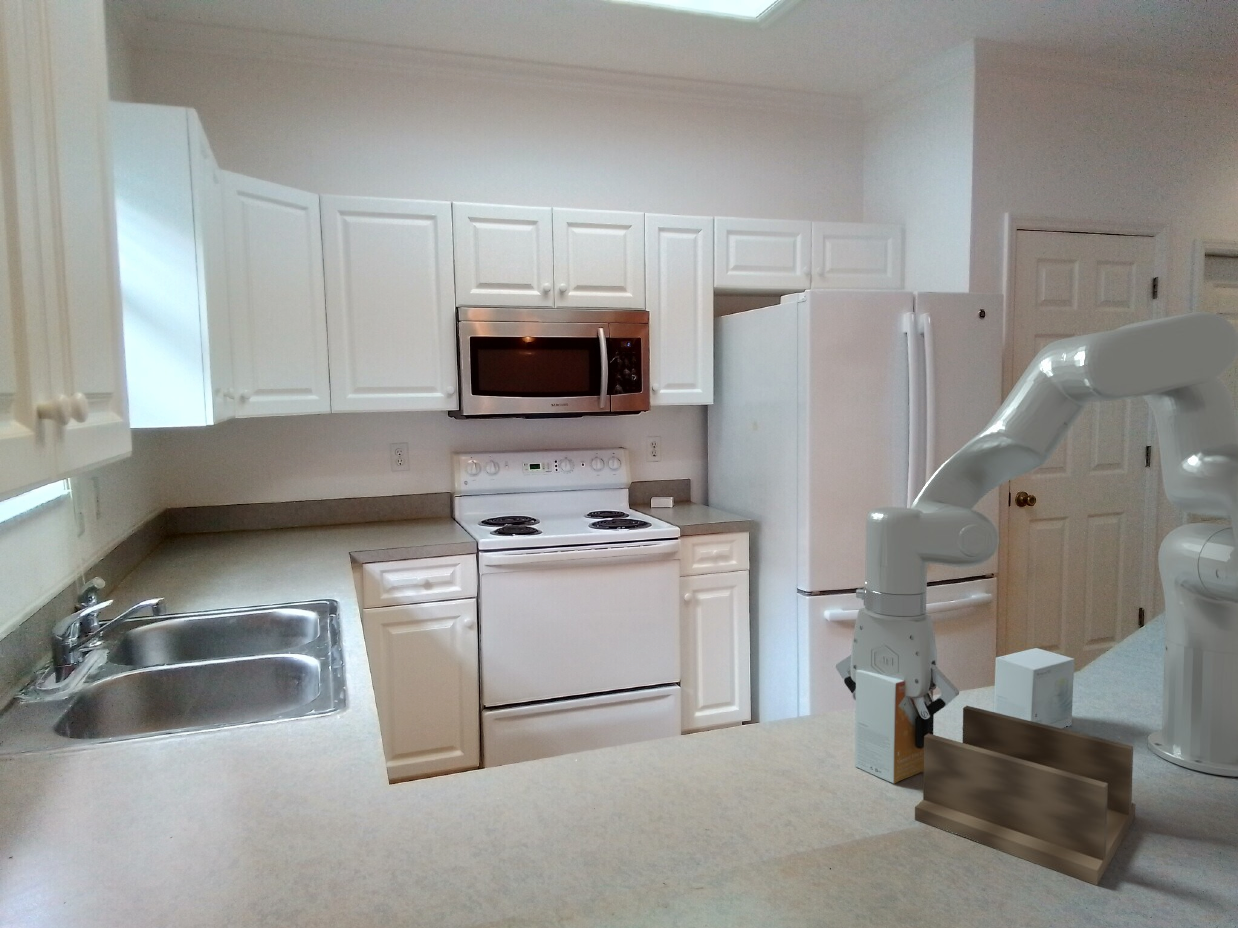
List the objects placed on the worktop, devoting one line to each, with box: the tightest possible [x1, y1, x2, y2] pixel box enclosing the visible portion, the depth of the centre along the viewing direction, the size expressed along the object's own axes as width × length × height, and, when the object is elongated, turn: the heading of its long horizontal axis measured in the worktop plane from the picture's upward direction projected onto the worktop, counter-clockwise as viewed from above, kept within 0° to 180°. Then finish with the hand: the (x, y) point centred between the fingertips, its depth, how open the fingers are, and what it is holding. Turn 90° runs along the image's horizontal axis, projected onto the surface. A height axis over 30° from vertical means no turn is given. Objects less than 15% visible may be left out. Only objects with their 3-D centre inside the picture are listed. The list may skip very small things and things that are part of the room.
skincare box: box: [992, 647, 1075, 729], centre depth 113 cm, size 10×6×10 cm, turn 120°
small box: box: [854, 670, 934, 784], centre depth 99 cm, size 8×6×13 cm
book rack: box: [914, 705, 1137, 886], centre depth 86 cm, size 18×18×9 cm
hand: (893, 735), depth 99 cm, fingers closed on small box, 7 cm apart
